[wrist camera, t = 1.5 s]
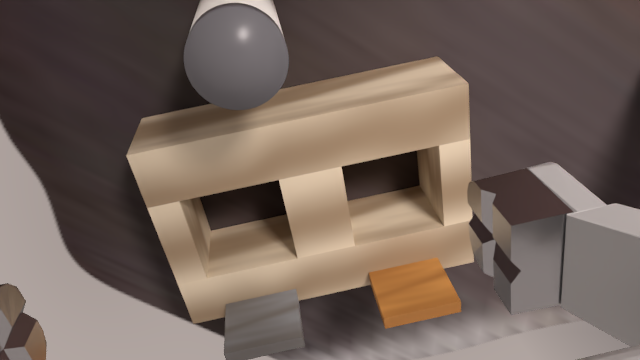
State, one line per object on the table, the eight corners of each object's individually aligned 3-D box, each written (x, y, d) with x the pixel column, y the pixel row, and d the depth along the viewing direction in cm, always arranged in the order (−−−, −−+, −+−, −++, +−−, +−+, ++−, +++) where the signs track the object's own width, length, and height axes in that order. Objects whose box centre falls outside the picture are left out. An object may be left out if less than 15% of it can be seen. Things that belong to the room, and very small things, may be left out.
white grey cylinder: (191, -22, 28) (169, 20, 19) (265, -37, 28) (277, -3, 19) (211, 51, 30) (200, 119, 21) (280, 37, 30) (297, 99, 21)
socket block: (141, 118, 31) (109, 195, 24) (437, 56, 32) (501, 111, 24) (198, 273, 37) (188, 375, 30) (446, 218, 38) (500, 305, 30)
